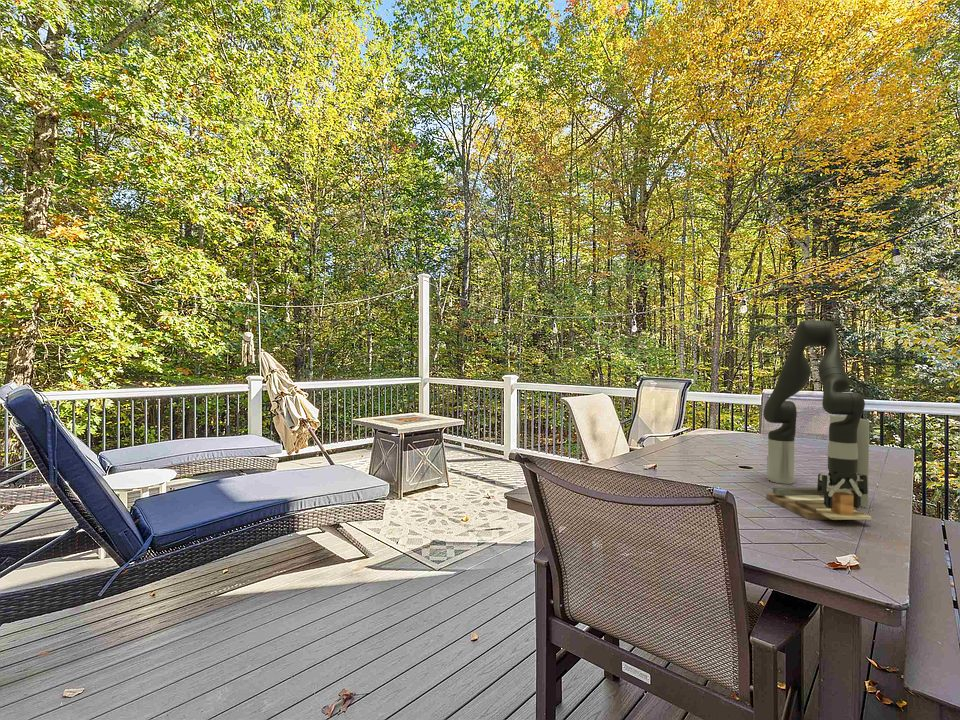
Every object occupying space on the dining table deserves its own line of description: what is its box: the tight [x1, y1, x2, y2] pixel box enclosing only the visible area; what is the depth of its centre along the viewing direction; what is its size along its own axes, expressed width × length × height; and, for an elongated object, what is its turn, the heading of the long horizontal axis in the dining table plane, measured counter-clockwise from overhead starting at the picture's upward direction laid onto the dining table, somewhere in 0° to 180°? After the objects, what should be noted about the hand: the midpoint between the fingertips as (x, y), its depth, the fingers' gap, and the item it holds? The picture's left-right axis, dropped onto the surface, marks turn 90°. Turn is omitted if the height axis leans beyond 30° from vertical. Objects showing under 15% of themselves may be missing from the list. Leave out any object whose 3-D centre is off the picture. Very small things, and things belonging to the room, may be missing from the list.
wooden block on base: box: [816, 492, 872, 521], centre depth 151 cm, size 8×12×7 cm, turn 91°
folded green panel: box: [828, 414, 870, 509], centre depth 172 cm, size 14×6×30 cm, turn 168°
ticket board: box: [765, 486, 865, 520], centre depth 165 cm, size 22×18×5 cm
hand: (842, 507), depth 151 cm, fingers open, 8 cm apart
